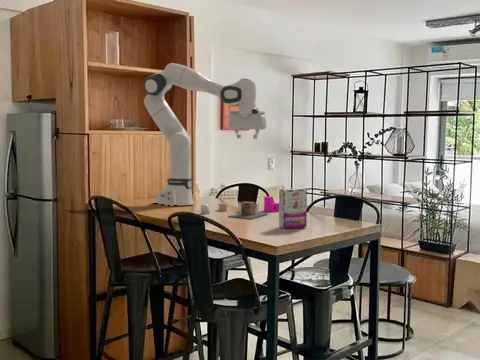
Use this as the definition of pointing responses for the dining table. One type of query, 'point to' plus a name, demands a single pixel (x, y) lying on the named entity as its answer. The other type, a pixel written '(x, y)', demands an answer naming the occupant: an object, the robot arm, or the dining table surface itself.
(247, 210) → the walnut block
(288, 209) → the candy bar box
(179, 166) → the robot arm
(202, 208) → the grey cylinder
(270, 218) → the dining table surface
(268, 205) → the toy block
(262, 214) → the mat
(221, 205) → the terracotta cube
